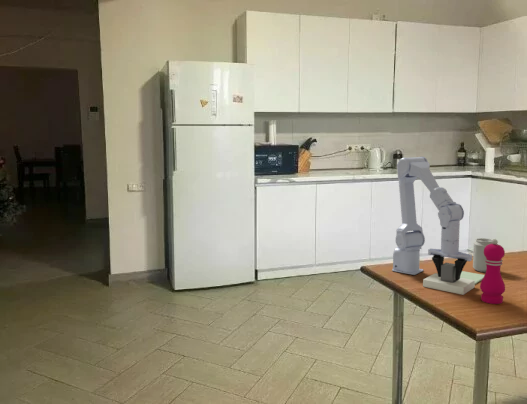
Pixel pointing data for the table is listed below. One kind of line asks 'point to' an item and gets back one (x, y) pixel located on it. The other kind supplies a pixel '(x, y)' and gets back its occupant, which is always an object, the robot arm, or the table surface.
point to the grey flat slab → (449, 284)
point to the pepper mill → (493, 274)
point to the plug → (448, 272)
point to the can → (480, 254)
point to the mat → (472, 276)
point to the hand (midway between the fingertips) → (448, 277)
